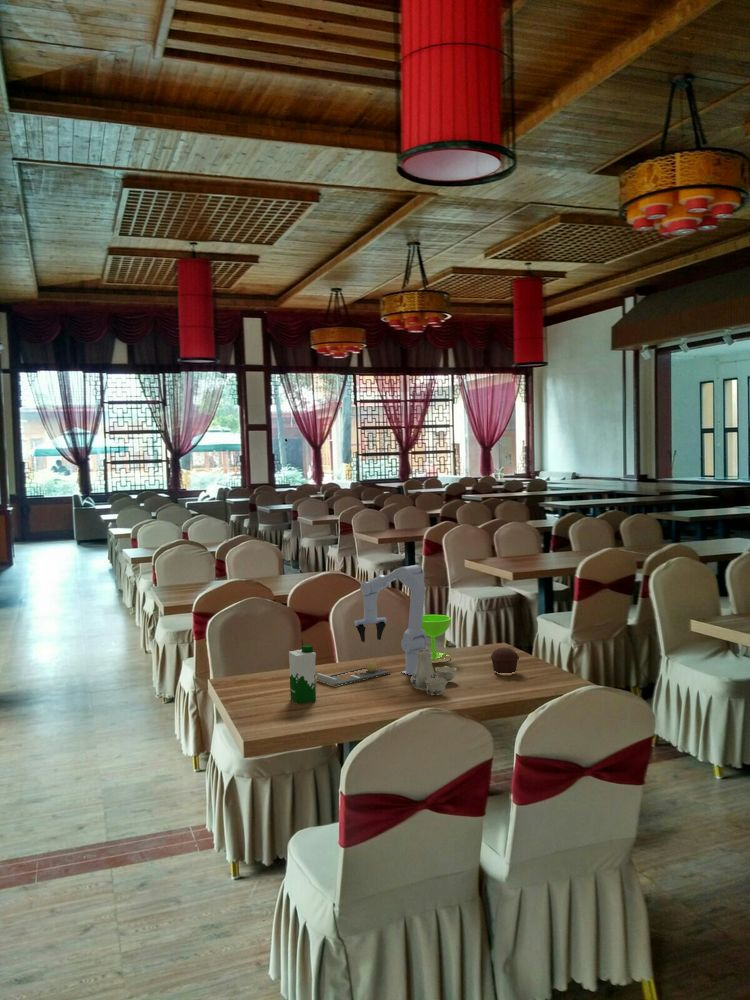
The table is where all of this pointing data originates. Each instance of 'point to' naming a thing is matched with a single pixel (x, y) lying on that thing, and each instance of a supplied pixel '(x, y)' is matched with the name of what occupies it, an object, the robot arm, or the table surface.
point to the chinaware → (430, 674)
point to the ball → (371, 667)
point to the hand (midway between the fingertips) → (371, 640)
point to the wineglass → (435, 630)
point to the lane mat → (356, 677)
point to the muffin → (504, 660)
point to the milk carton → (302, 675)
